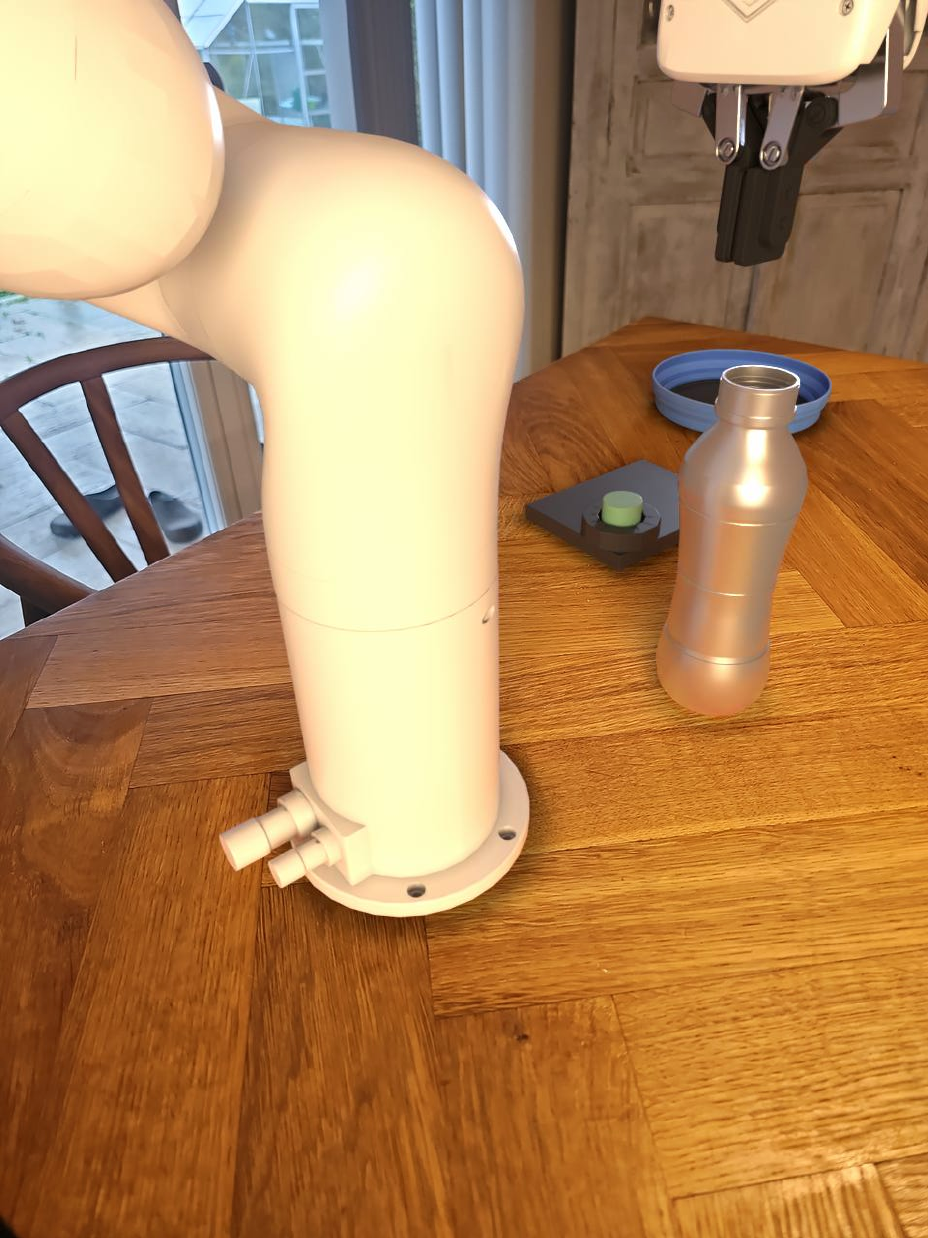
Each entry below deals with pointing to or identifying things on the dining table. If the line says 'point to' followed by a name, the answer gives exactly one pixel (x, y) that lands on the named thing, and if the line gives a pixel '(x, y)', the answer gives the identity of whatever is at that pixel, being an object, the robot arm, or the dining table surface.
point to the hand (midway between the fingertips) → (748, 259)
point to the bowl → (695, 384)
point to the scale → (617, 547)
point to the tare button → (622, 509)
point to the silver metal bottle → (732, 543)
